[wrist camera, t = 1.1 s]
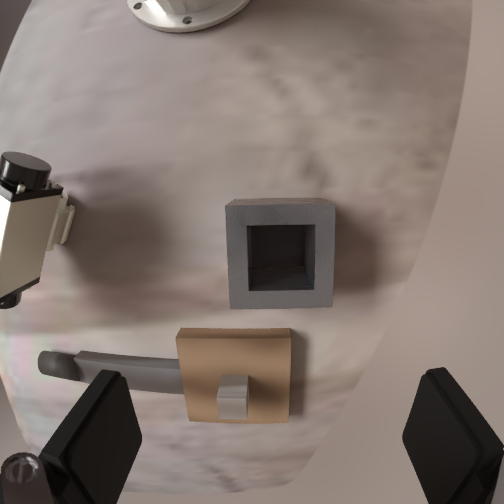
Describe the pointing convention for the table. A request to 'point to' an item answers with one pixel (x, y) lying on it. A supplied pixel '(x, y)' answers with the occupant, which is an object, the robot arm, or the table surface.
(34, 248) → the pneumatic valve
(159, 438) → the table surface
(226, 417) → the mallet
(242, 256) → the hollow grey cube
